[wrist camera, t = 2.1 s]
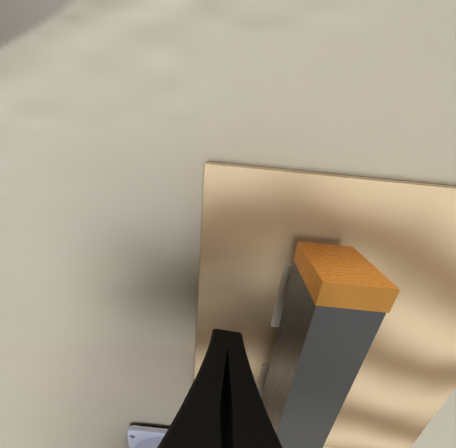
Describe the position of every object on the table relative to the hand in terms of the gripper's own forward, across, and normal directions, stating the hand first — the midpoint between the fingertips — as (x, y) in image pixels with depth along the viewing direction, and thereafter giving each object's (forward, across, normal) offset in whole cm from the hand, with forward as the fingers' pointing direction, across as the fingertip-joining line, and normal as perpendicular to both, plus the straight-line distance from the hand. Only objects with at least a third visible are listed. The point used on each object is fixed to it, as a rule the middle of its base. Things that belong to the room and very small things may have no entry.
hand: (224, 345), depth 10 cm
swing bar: (+2, -5, +4) cm, 6 cm away
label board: (+4, -7, +2) cm, 9 cm away
